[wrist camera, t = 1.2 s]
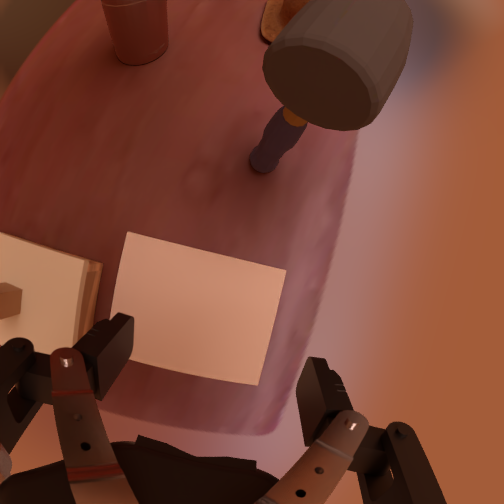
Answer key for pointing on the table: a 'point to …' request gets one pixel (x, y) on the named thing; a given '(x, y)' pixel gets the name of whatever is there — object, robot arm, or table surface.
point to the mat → (197, 309)
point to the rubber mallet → (332, 69)
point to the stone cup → (279, 16)
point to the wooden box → (86, 293)
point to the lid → (40, 294)
